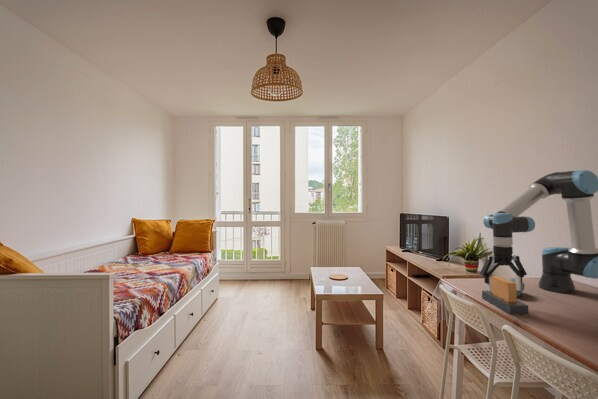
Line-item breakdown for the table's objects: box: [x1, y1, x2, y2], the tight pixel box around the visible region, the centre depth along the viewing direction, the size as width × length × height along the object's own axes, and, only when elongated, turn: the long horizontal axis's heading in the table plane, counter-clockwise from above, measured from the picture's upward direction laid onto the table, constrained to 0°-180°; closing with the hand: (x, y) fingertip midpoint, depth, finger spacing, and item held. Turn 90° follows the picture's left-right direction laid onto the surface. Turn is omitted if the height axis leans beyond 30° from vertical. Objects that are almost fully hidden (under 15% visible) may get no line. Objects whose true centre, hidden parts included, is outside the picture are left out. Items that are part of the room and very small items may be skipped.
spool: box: [507, 277, 525, 298], centre depth 151 cm, size 14×10×10 cm
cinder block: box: [481, 290, 529, 316], centre depth 135 cm, size 8×20×4 cm, turn 178°
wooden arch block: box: [490, 275, 518, 302], centre depth 135 cm, size 4×12×12 cm, turn 178°
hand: (503, 290), depth 135 cm, fingers open, 13 cm apart
